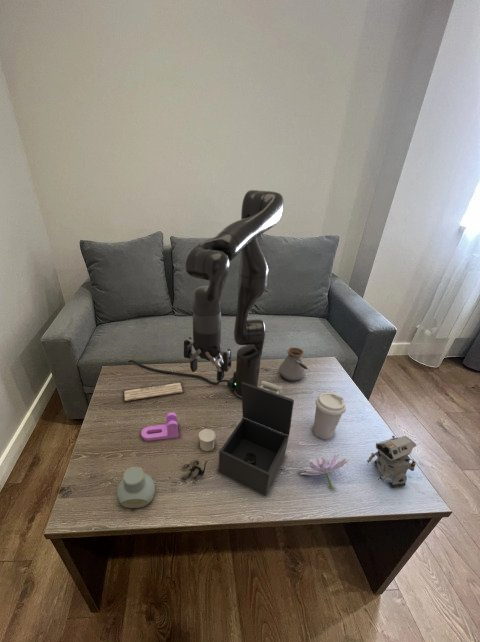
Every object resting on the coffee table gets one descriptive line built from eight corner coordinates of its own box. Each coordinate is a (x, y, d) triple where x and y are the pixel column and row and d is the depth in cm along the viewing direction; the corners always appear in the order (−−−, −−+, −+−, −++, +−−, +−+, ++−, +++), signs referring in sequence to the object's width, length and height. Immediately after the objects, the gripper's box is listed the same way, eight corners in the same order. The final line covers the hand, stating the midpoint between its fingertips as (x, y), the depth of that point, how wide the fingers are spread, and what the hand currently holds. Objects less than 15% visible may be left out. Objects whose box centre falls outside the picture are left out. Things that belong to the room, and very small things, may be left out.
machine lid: (293, 401, 86) (299, 388, 89) (240, 383, 94) (248, 371, 97) (288, 435, 98) (294, 423, 101) (242, 417, 106) (249, 405, 109)
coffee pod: (195, 446, 109) (195, 435, 106) (206, 436, 112) (206, 426, 109) (208, 455, 105) (208, 444, 103) (218, 445, 109) (218, 434, 106)
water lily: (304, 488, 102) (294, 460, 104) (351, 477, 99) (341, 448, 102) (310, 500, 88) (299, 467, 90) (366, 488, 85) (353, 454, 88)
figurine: (356, 465, 101) (369, 432, 93) (390, 461, 102) (406, 428, 94) (372, 491, 93) (389, 457, 85) (409, 486, 94) (429, 453, 86)
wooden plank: (125, 402, 128) (124, 398, 127) (124, 391, 134) (124, 387, 133) (182, 393, 132) (182, 390, 131) (179, 383, 138) (179, 379, 137)
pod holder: (252, 475, 98) (253, 464, 95) (241, 469, 99) (242, 458, 97) (256, 466, 100) (258, 455, 97) (246, 461, 102) (247, 450, 99)
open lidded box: (265, 496, 93) (269, 475, 87) (218, 472, 100) (219, 451, 94) (284, 456, 104) (288, 435, 99) (241, 437, 111) (243, 417, 106)
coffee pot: (275, 368, 145) (279, 340, 137) (300, 368, 145) (306, 339, 137) (286, 399, 128) (291, 369, 119) (315, 399, 127) (322, 369, 119)
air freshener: (116, 510, 90) (111, 489, 84) (120, 484, 97) (115, 463, 91) (155, 508, 90) (152, 487, 85) (156, 482, 97) (153, 461, 92)
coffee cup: (339, 444, 108) (350, 411, 100) (310, 440, 110) (318, 408, 101) (334, 424, 116) (344, 392, 108) (307, 420, 117) (314, 389, 109)
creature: (177, 479, 99) (199, 487, 95) (173, 467, 97) (195, 474, 92) (191, 461, 105) (211, 468, 100) (187, 449, 102) (208, 455, 98)
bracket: (176, 425, 117) (176, 411, 113) (178, 437, 112) (177, 422, 108) (141, 430, 115) (139, 416, 112) (141, 441, 111) (139, 427, 107)
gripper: (237, 326, 83) (234, 376, 92) (192, 314, 90) (193, 361, 99) (224, 339, 78) (222, 390, 87) (176, 325, 84) (179, 374, 93)
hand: (206, 375), depth 93 cm, fingers open, 8 cm apart
